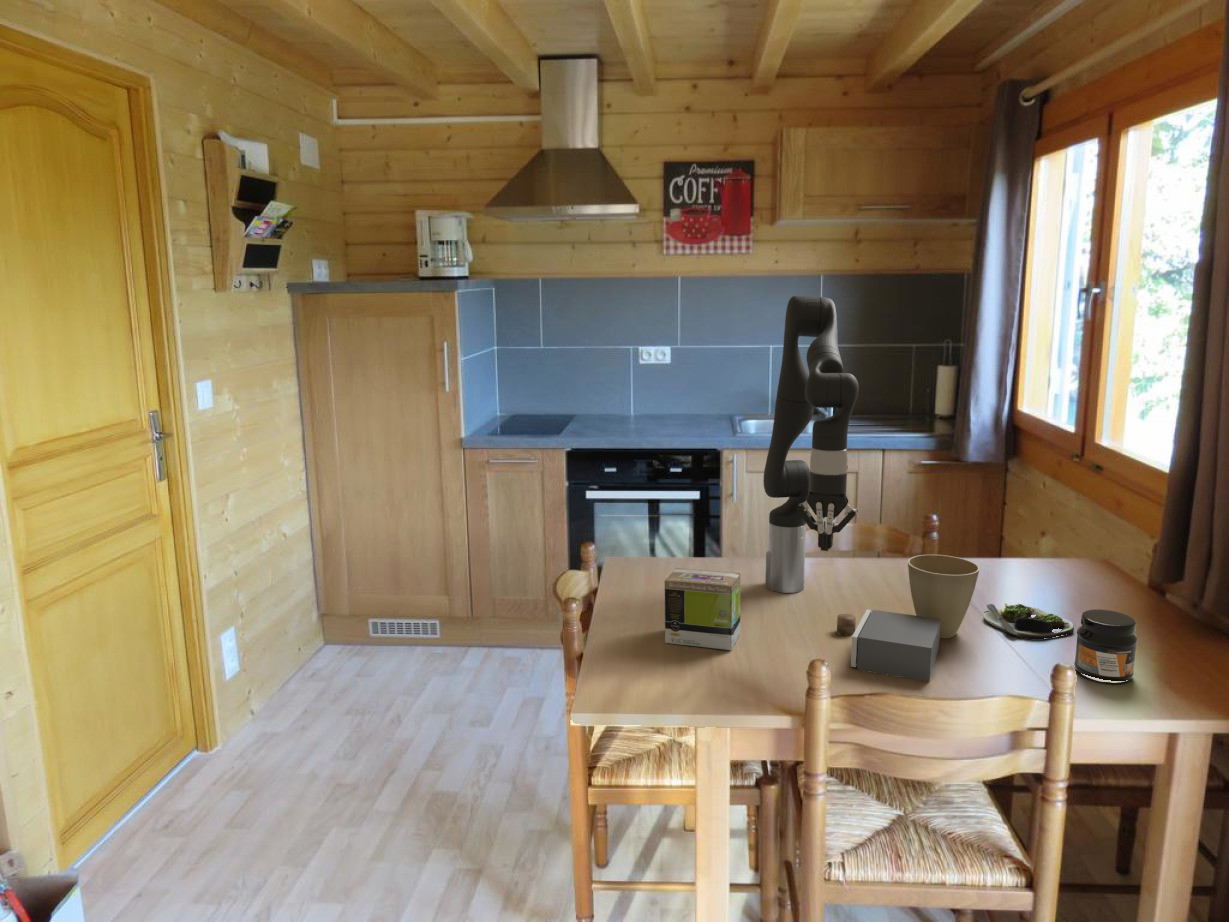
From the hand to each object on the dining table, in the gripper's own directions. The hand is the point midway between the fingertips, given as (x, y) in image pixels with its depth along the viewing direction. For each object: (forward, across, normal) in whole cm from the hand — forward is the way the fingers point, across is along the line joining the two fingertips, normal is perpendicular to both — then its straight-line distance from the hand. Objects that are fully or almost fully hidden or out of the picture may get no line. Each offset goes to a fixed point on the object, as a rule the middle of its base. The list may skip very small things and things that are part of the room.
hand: (825, 549), depth 192 cm
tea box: (+22, -25, -6) cm, 34 cm away
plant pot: (+22, +22, +19) cm, 37 cm away
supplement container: (+22, +54, +9) cm, 59 cm away
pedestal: (+22, +3, +11) cm, 25 cm away
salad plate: (+22, +40, +31) cm, 55 cm away
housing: (+22, +16, 0) cm, 27 cm away
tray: (+21, +15, 0) cm, 26 cm away
